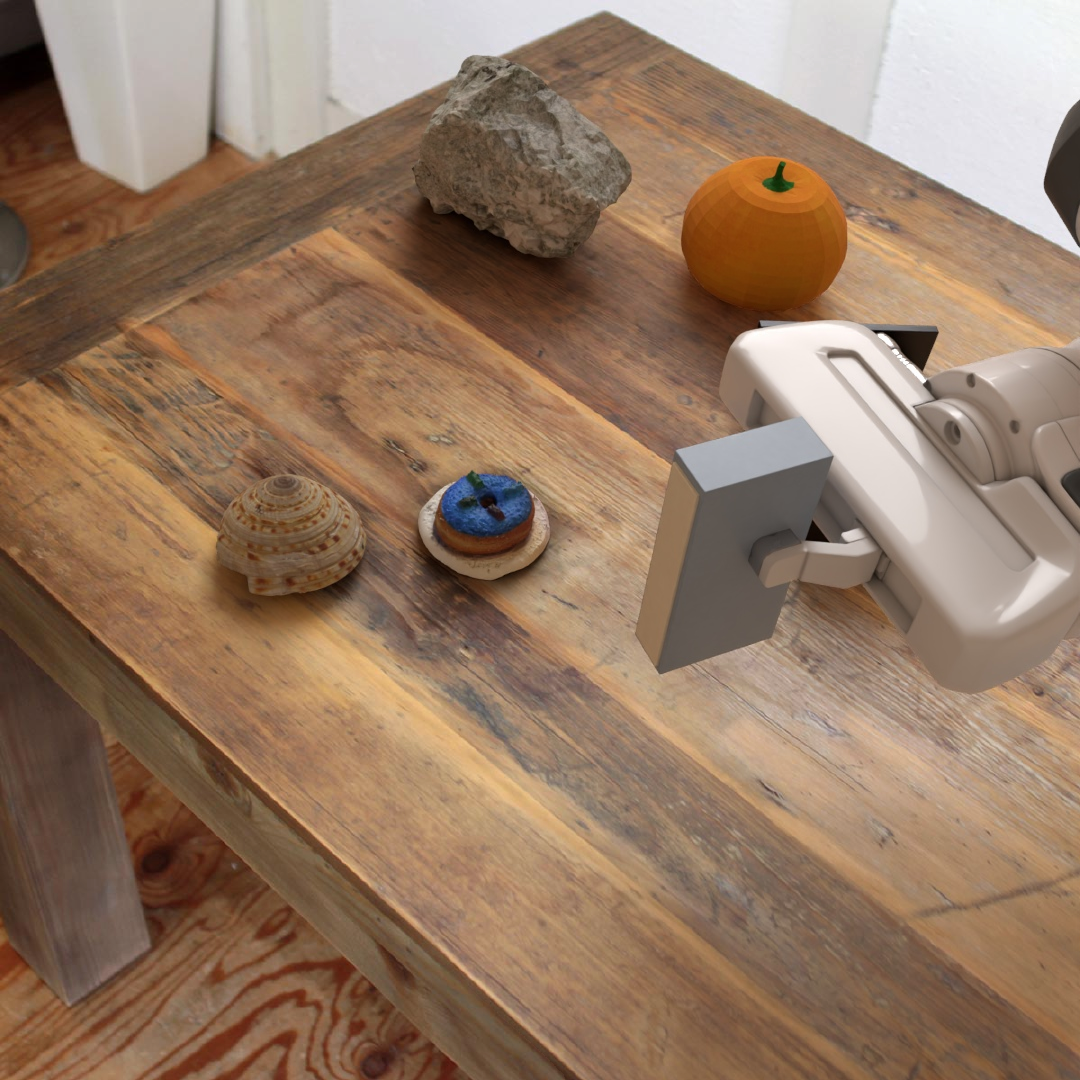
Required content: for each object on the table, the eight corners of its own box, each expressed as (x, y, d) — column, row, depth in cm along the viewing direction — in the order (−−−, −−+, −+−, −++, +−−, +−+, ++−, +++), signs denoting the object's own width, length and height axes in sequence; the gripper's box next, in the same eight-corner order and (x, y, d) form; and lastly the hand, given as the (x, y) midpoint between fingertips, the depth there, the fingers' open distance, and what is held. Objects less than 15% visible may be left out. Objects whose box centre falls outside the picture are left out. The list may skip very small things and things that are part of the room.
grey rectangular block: (772, 638, 62) (834, 455, 53) (656, 676, 60) (701, 493, 51) (745, 599, 64) (802, 415, 55) (631, 635, 62) (671, 450, 53)
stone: (577, 237, 88) (389, 126, 90) (570, 317, 100) (404, 217, 102) (652, 131, 90) (467, 24, 92) (636, 221, 102) (473, 125, 104)
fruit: (844, 338, 94) (885, 217, 86) (679, 326, 93) (706, 203, 85) (818, 239, 102) (854, 121, 94) (666, 227, 101) (690, 107, 93)
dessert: (469, 596, 74) (445, 493, 72) (411, 579, 79) (387, 483, 77) (582, 549, 78) (562, 451, 76) (520, 536, 83) (500, 444, 81)
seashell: (191, 577, 71) (226, 440, 73) (212, 607, 76) (244, 478, 79) (343, 601, 71) (373, 464, 73) (354, 630, 76) (381, 500, 79)
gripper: (886, 267, 65) (635, 325, 61) (1173, 567, 53) (888, 667, 49) (853, 366, 70) (617, 426, 65) (1110, 662, 58) (844, 761, 53)
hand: (735, 532), depth 57 cm, fingers closed on grey rectangular block, 2 cm apart
